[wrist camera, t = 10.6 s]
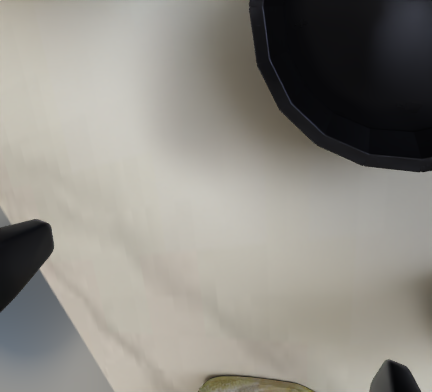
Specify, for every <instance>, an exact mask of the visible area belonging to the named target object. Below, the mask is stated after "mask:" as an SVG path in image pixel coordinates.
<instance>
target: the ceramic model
mask: <svg viewBox="0 0 432 392" xmlns="http://www.w3.org/2000/svg"><path fill="white" fill-rule="evenodd" d="M198 392H314V391H312V390H309V389H308V388H306V387H304V386H301V385H299V384H296V383H290V382H284V381H275V380H268V379H261V378H251V377H239V376H228V377H226V376H223V377H217V378H213V379H210V380H208V381H207V382H206V383H205V384H204V385H203V386H202V387H201V388H199V391H198Z"/></svg>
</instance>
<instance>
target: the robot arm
mask: <svg viewBox="0 0 432 392" xmlns="http://www.w3.org/2000/svg"><path fill="white" fill-rule="evenodd" d="M53 249H54V241H53V235H52V228H51V226H50V224H48V223H46V222H44V221H41V220H38V219H34V220H30V221H25V222H21V223H17V224H13V225H9V226H5V227H1V228H0V312H1V311H2V310H3V309H4V308H5V307H6V306H7V305H8V304H9V303H10V302H11V301H12V300H13V299H14V298H15V297H16V296H17V295H18V293H19V292H20V291H21V290H22V289H23V288H24V286H25V285H26V284H27V283H28V282H29V280H30V279H31V278H32V277H33V276H34V274H35V273H36V272H37V271H38V270H39V268H40V267H41V266H42V265H43V264H44V262H45V261H46V260H47V259H48V257H49V256H50V255H51V254H52V252H53ZM369 392H421V390H420V389H419V387H418V385H417V383H416V381H415V379H414V377H413V375H412V374H411V372H410V370H409V369H408V368H407V367H406V366H404V365H402V364H400V363H397V362H395V361H392V360H386V361H385V362H384V363H383V364H382V366H381V367H380V369H379V371H378V372H377V374H376V375H375V377H374V378H373V380H372V383H371V386H370V390H369Z"/></svg>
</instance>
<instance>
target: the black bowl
mask: <svg viewBox="0 0 432 392" xmlns="http://www.w3.org/2000/svg"><path fill="white" fill-rule="evenodd" d="M249 13H250V20H251V27H252V34H253V41H254V48H255V55H256V62H257V66H258V68H259V70H260V72H261V74H262V76H263V78H264V80H265V82H266V84H267V86H268V88H269V90H270V92H271V94H272V96H273V98H274V100H275V102H276V104H277V106H278V108H279V110H281V112H282V113H283V114H284V115H285V116H286V117H287V118H288V119H289V120H290V121H291V122H292V123H294V124H295V125H296V126H297V127H298V128H299V129H300V130H301V131H302V132H303V133H304V134H305V135H306V136H307V137H308V138H309V139H310V140H311V141H312V142H314V143H315V144H317V146H319V147H322V148H324V149H326V150H328V151H331V152H333V153H335V154H337V155H339V156H342V157H344V158H346V159H348V160H351V161H353V162H355V163H357V164H360V165H362V166H363V165H364V166H367V167H376V168H385V169H394V170H403V171H412V172H427V171H432V0H250V2H249Z"/></svg>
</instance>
